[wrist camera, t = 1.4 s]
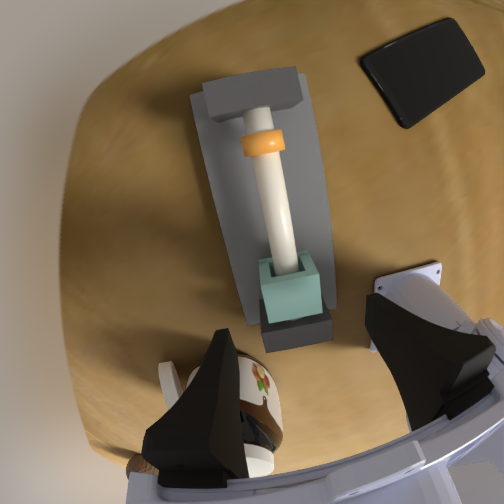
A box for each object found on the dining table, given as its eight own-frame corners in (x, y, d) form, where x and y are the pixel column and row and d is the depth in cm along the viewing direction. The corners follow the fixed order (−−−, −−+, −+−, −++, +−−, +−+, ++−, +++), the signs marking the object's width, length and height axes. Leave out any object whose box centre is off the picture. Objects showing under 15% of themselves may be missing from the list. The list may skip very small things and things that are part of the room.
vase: (160, 467, 42) (155, 499, 34) (130, 458, 41) (122, 489, 33) (163, 458, 39) (156, 494, 31) (129, 448, 38) (120, 483, 30)
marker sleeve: (311, 285, 21) (322, 312, 17) (265, 294, 21) (269, 323, 17) (307, 250, 19) (319, 273, 16) (258, 259, 20) (260, 285, 16)
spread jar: (286, 387, 29) (298, 475, 18) (207, 411, 31) (200, 488, 20) (232, 320, 25) (226, 430, 14) (145, 355, 27) (114, 444, 16)
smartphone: (358, 58, 15) (453, 15, 12) (354, 61, 16) (448, 17, 12) (406, 132, 17) (487, 73, 14) (401, 131, 18) (482, 74, 15)
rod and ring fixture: (333, 300, 24) (351, 339, 19) (247, 317, 24) (247, 360, 19) (301, 76, 16) (320, 56, 11) (192, 97, 17) (172, 83, 12)
